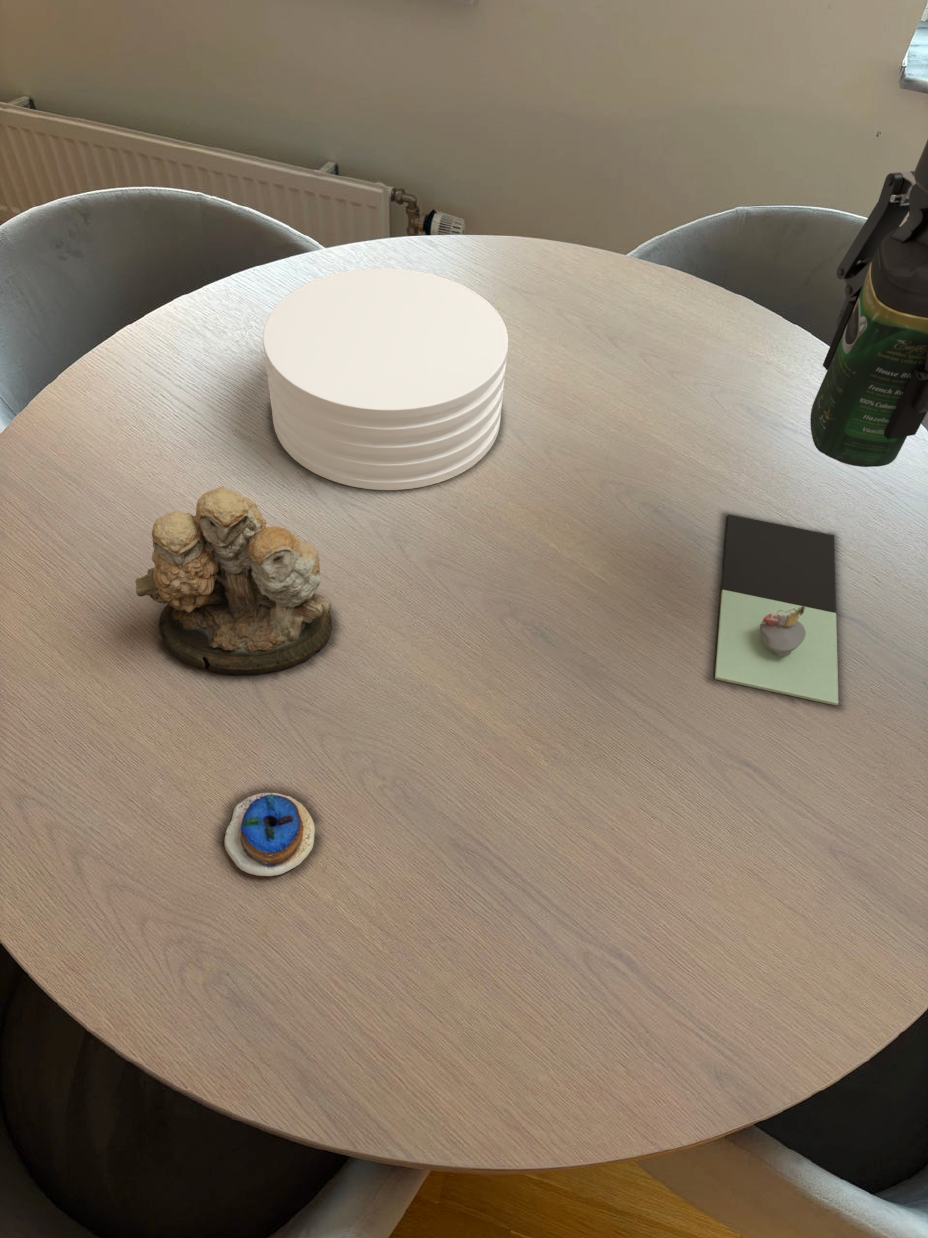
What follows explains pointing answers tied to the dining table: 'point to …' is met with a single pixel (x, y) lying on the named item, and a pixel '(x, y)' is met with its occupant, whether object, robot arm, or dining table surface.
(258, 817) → the dessert
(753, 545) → the sorting mat
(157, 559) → the owl figurine
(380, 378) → the plate stack
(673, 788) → the dining table surface
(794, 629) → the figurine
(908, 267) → the coffee jar
